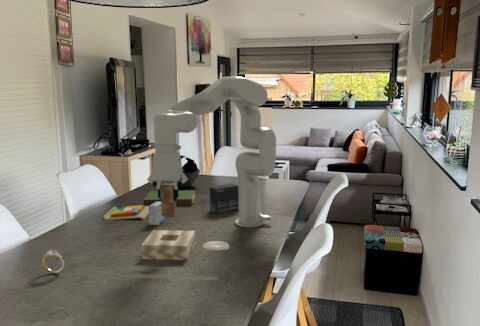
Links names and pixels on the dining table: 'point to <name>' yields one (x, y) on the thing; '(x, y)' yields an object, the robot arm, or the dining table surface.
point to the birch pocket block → (168, 245)
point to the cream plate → (216, 246)
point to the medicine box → (155, 214)
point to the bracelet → (53, 252)
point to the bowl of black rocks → (189, 172)
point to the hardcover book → (183, 199)
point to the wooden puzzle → (127, 212)
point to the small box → (224, 198)
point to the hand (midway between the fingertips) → (168, 199)
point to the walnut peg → (167, 200)
